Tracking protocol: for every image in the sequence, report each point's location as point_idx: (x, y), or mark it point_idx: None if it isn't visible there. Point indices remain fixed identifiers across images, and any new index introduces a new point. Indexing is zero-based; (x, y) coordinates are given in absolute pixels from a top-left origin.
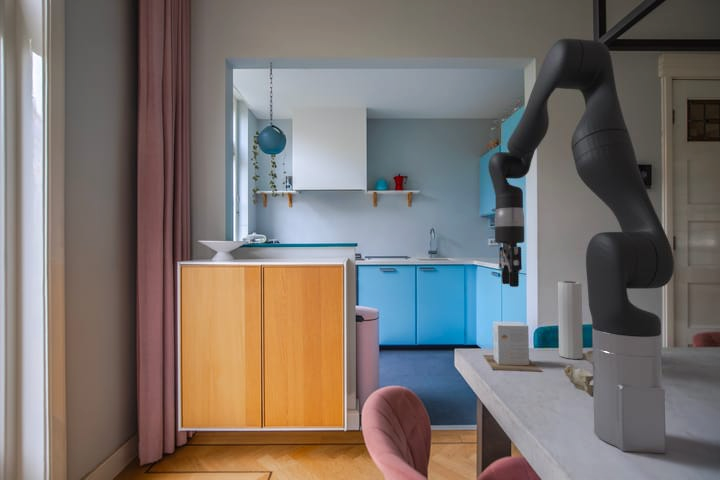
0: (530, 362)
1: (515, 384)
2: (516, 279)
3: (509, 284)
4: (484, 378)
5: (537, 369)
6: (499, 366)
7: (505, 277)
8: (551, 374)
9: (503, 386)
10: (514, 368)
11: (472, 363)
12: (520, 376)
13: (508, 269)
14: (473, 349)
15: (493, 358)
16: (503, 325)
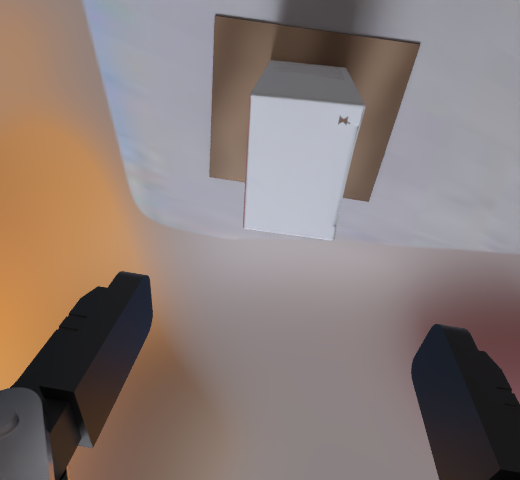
0: (303, 40)
1: (507, 190)
2: (510, 409)
3: (420, 383)
4: (435, 245)
5: (394, 54)
6: None
7: (125, 355)
8: (456, 22)
9: (510, 224)
10: (369, 135)
11: None
12: (446, 147)
13: (59, 424)
14: (137, 181)
15: None
16: (334, 218)
